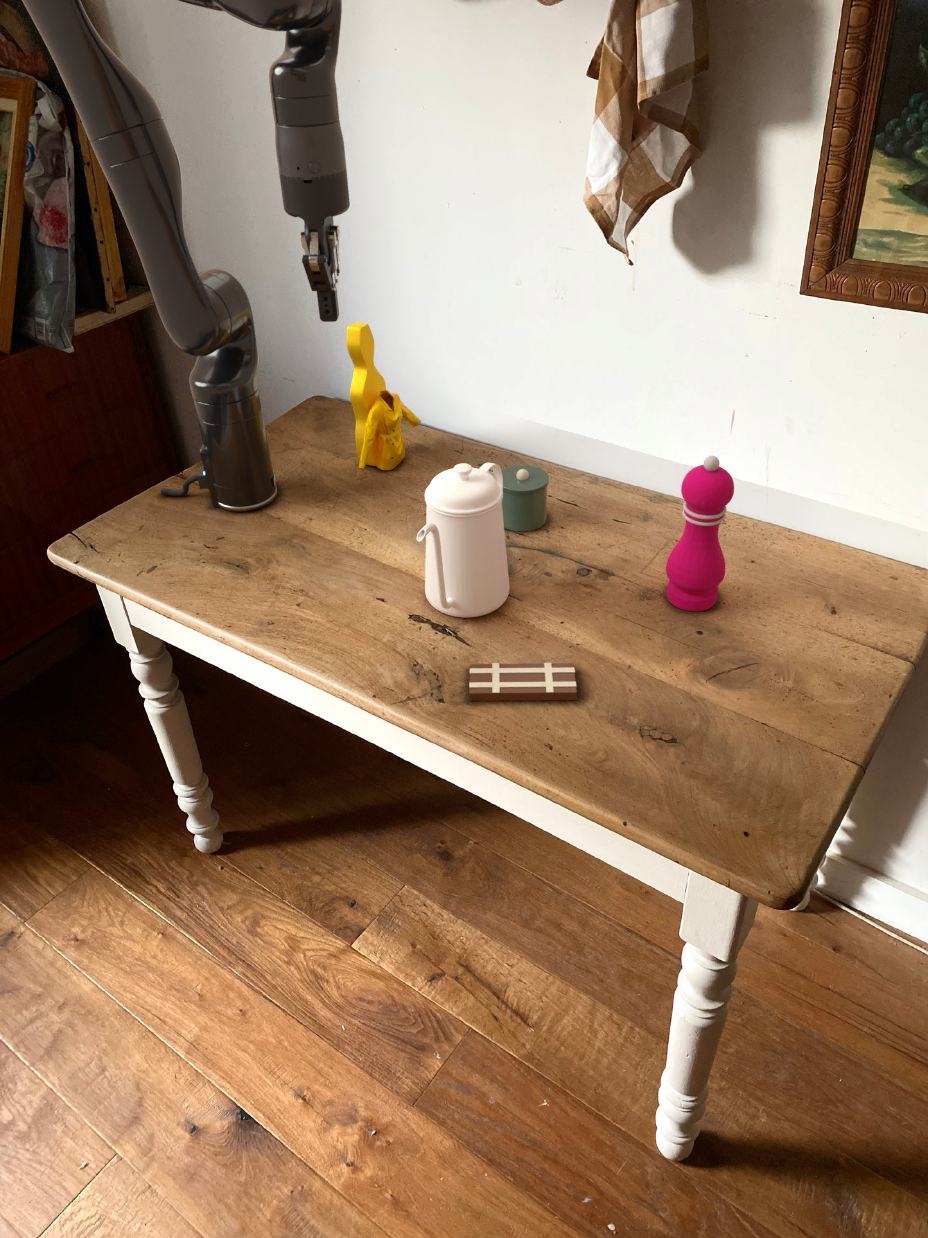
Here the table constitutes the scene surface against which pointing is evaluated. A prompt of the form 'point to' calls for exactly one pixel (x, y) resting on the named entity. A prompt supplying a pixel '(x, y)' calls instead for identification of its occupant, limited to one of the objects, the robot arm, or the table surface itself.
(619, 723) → the table surface
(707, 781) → the table surface
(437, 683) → the table surface
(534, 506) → the canister
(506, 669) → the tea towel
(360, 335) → the figure statuette
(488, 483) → the coffeepot
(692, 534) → the pepper mill
